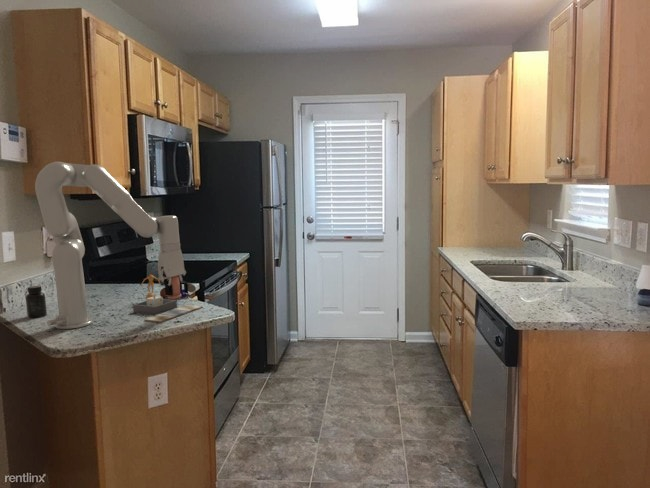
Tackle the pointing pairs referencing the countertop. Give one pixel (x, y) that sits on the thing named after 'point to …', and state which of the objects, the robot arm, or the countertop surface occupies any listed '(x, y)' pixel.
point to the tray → (155, 307)
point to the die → (154, 301)
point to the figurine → (151, 285)
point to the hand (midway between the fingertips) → (174, 293)
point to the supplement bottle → (35, 302)
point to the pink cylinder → (175, 287)
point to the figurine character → (187, 288)
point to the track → (173, 313)
